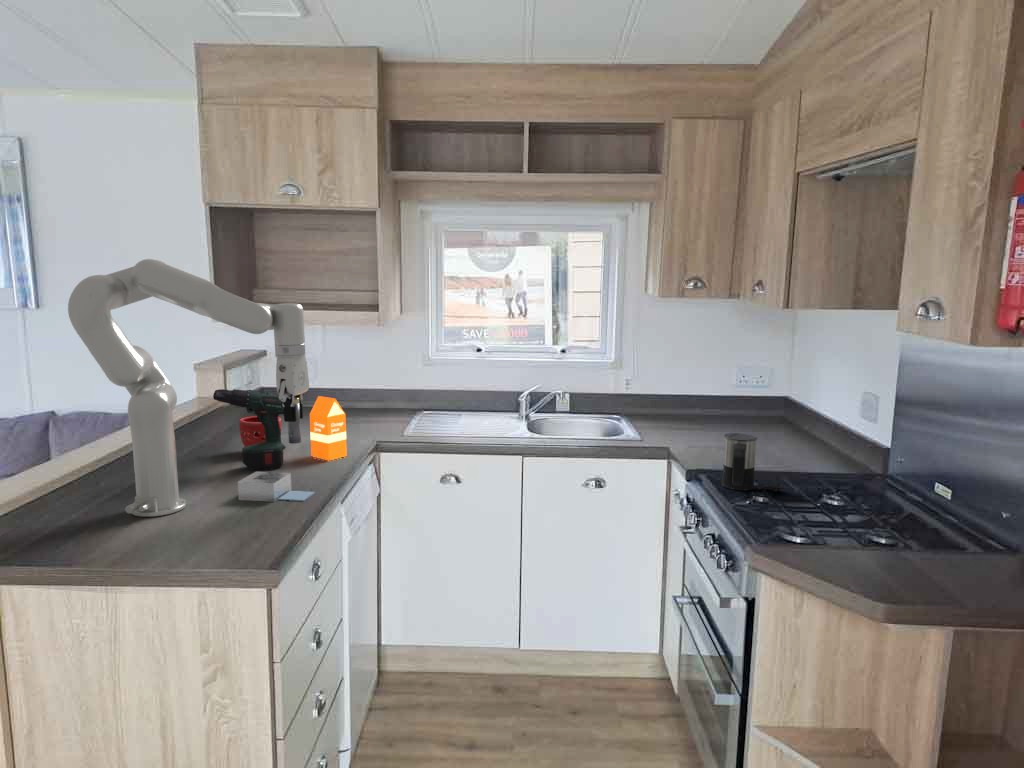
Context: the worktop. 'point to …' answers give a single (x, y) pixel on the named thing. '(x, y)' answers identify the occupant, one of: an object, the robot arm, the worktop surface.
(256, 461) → the power drill
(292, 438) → the metal cylinder with cap
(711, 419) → the worktop surface
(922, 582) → the worktop surface
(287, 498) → the rubber mat
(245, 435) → the plant pot
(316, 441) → the orange juice
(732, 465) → the milk frother
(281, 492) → the block
